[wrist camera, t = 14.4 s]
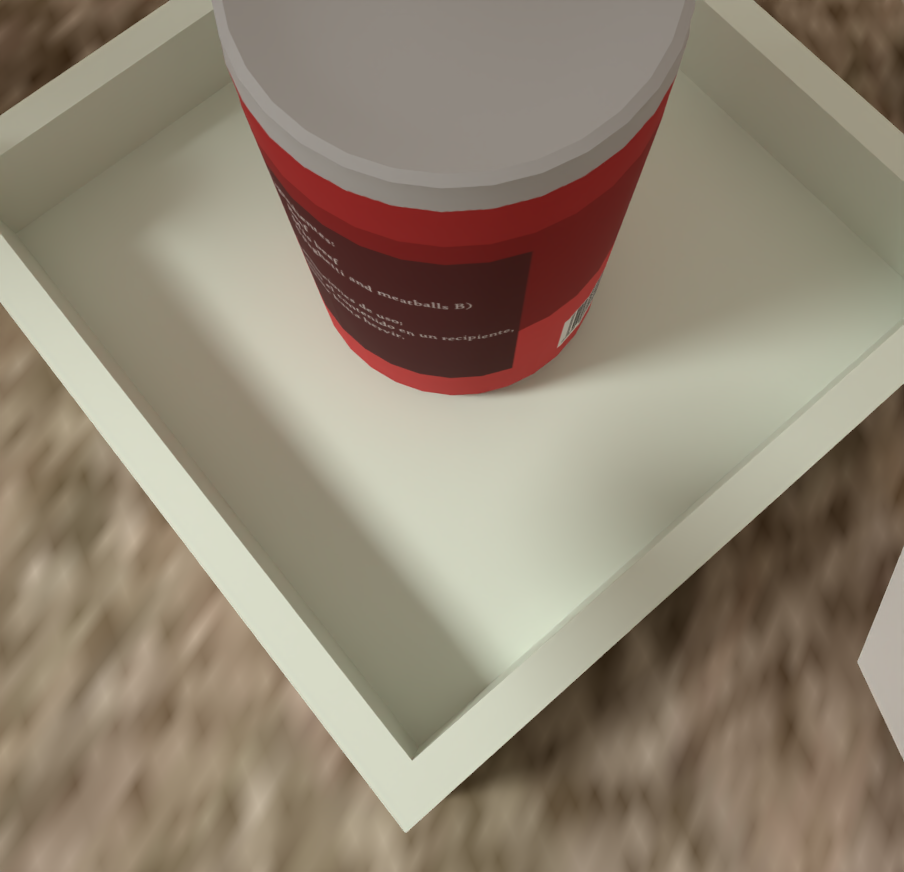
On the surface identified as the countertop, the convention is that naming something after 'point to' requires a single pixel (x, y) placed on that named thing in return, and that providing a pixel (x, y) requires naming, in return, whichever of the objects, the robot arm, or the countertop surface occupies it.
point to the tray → (455, 416)
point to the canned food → (455, 163)
